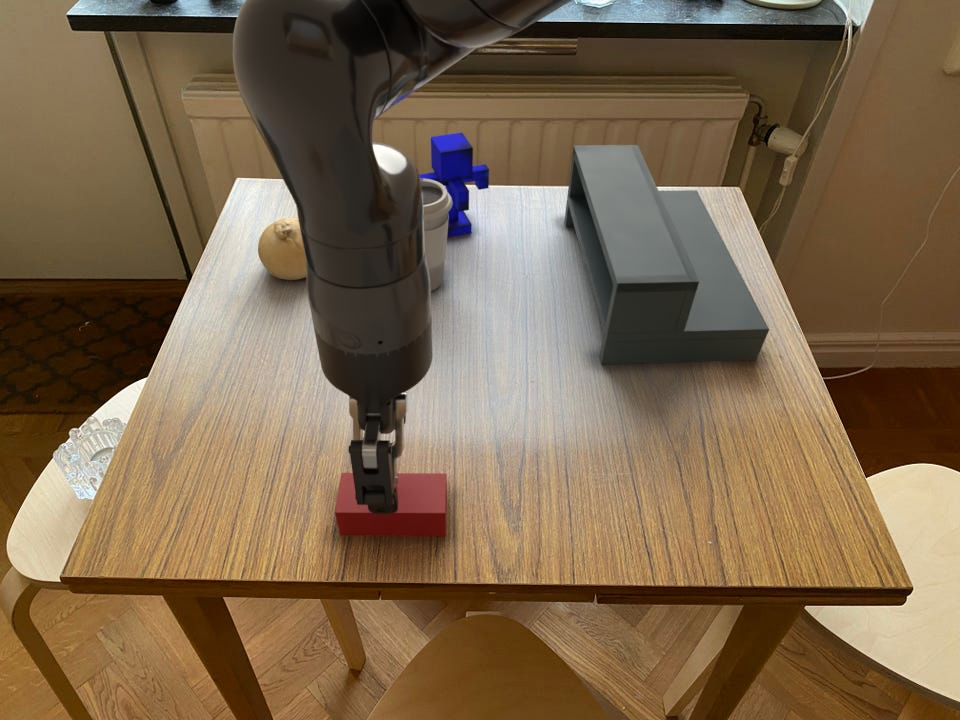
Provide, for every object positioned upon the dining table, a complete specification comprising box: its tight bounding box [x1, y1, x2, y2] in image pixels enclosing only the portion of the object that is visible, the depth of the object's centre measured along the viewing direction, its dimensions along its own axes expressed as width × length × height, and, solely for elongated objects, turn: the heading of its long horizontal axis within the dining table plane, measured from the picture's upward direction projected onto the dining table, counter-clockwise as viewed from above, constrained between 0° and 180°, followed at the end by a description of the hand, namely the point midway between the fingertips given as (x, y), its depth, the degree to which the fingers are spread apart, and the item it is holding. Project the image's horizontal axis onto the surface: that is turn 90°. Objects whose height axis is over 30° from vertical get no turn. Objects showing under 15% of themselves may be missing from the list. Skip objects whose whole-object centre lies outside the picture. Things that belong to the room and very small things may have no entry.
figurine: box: [419, 132, 490, 238], centre depth 89 cm, size 8×8×12 cm
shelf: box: [564, 144, 770, 365], centre depth 81 cm, size 27×17×11 cm, turn 4°
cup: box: [420, 178, 453, 292], centre depth 81 cm, size 7×7×12 cm
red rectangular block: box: [334, 472, 448, 537], centre depth 60 cm, size 9×4×4 cm, turn 91°
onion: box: [257, 217, 307, 281], centre depth 83 cm, size 8×8×7 cm
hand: (388, 463), depth 56 cm, fingers open, 8 cm apart
